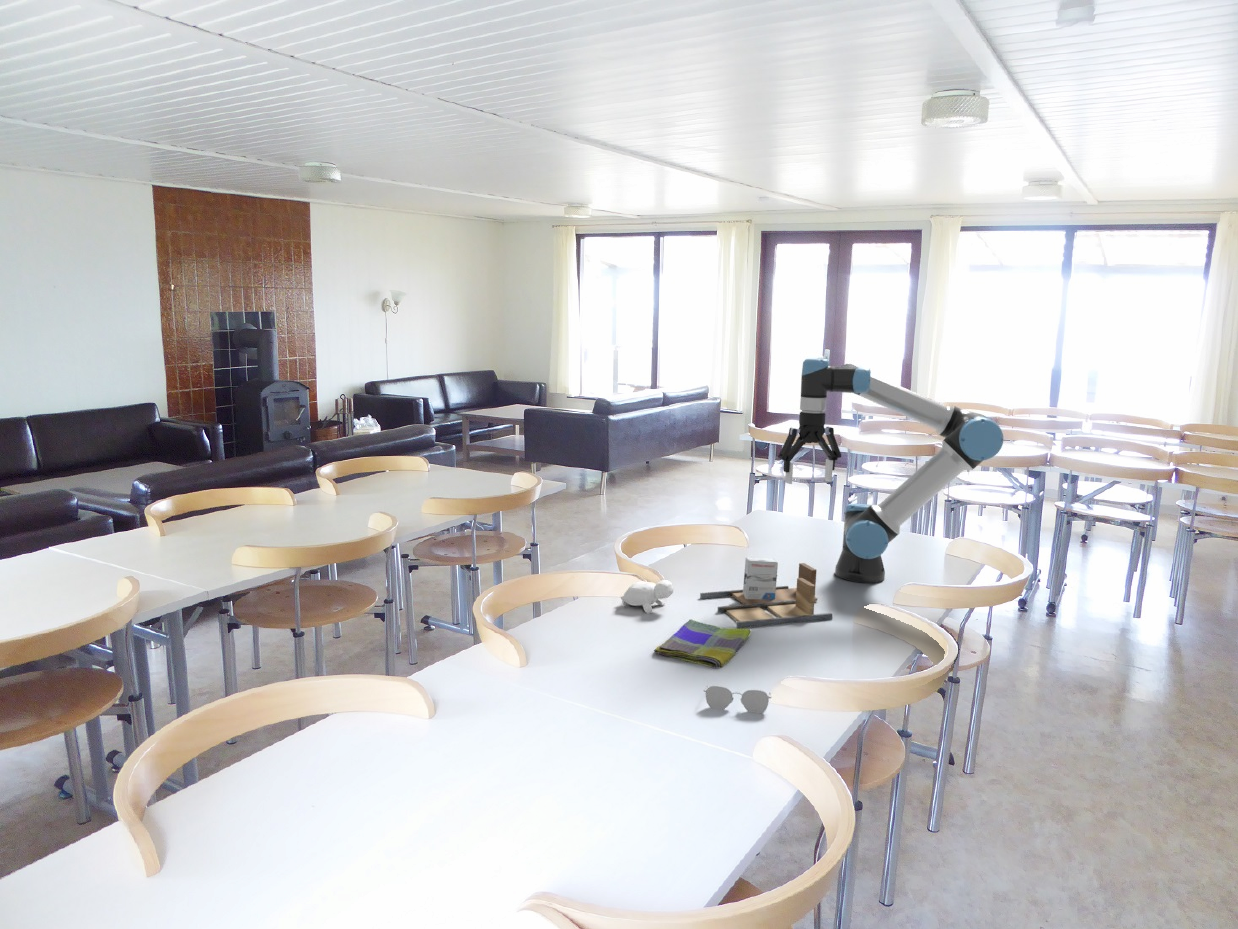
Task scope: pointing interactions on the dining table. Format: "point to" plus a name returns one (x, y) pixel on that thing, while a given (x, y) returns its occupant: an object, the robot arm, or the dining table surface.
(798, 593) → the wooden l-shaped stand
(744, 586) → the ink box
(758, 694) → the sunglasses
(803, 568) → the tan wooden holder
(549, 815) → the dining table surface
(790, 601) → the lane rails
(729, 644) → the dish towel
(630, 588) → the white animal figurine
